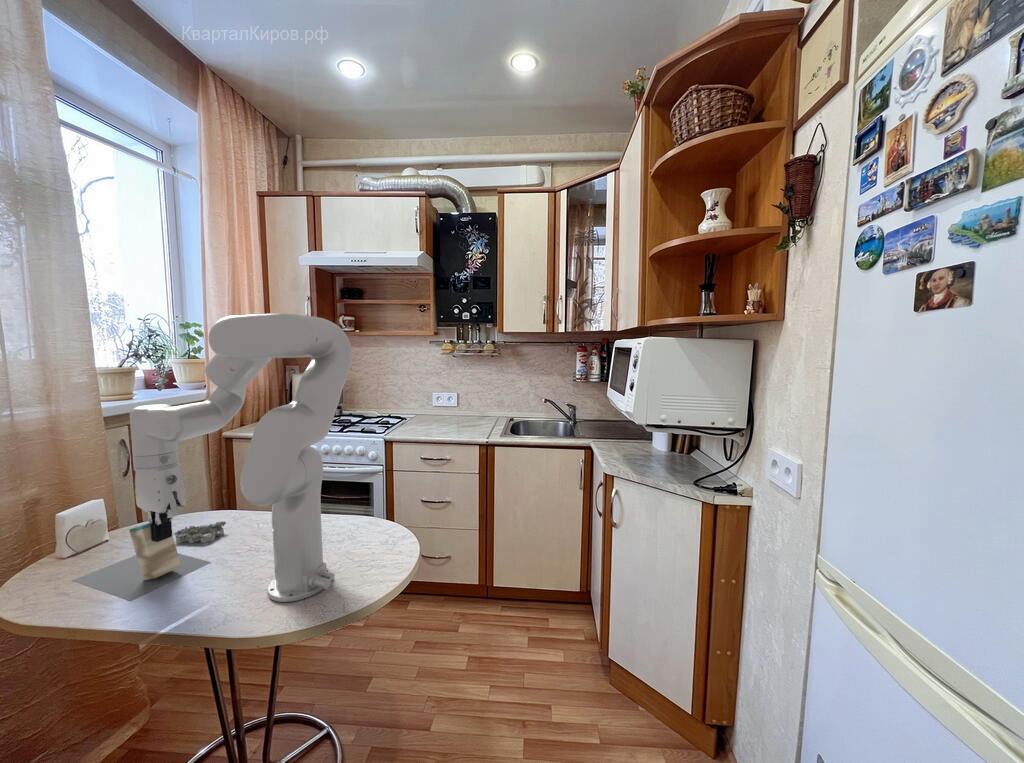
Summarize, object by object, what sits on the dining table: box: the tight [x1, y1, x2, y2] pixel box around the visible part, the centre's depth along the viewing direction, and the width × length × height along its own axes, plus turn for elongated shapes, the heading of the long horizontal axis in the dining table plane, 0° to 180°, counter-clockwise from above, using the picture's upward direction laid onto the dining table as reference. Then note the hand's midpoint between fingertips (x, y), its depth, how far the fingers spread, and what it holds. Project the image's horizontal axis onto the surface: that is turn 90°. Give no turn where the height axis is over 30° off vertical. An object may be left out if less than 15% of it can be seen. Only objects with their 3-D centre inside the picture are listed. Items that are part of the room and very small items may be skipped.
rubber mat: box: [71, 552, 212, 602], centre depth 94 cm, size 22×16×1 cm
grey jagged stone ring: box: [172, 521, 227, 544], centre depth 110 cm, size 11×8×4 cm
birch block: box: [128, 522, 181, 580], centre depth 91 cm, size 5×5×12 cm
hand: (162, 538), depth 90 cm, fingers closed
